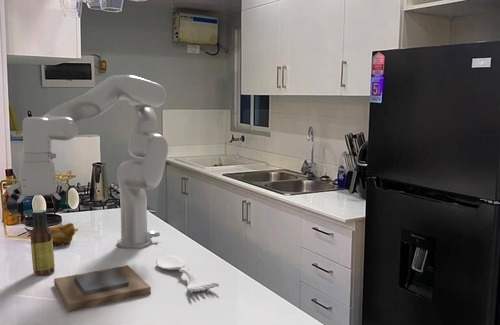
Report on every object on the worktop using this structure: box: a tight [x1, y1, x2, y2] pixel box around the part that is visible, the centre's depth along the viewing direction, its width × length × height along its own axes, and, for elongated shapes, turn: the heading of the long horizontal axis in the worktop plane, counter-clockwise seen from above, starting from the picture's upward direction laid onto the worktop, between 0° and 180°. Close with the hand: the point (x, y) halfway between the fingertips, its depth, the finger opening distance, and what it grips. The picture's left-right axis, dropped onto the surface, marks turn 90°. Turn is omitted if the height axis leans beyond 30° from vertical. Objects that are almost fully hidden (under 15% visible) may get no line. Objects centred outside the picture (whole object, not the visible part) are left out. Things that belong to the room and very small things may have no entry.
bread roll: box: [48, 222, 76, 247], centre depth 175 cm, size 13×10×8 cm
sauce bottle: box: [30, 209, 56, 277], centre depth 146 cm, size 7×6×20 cm
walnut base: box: [53, 264, 152, 313], centre depth 135 cm, size 22×20×3 cm
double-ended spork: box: [155, 254, 220, 293], centre depth 144 cm, size 9×32×4 cm, turn 31°
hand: (39, 213), depth 144 cm, fingers open, 9 cm apart
